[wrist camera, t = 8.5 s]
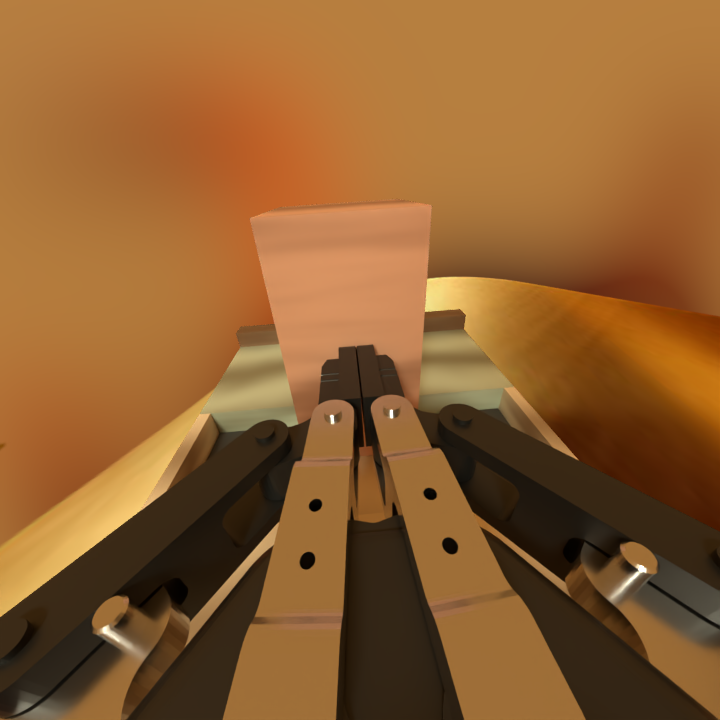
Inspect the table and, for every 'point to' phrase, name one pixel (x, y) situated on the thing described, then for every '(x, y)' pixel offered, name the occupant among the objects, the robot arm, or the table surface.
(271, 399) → the trap box
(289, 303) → the block
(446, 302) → the table surface
